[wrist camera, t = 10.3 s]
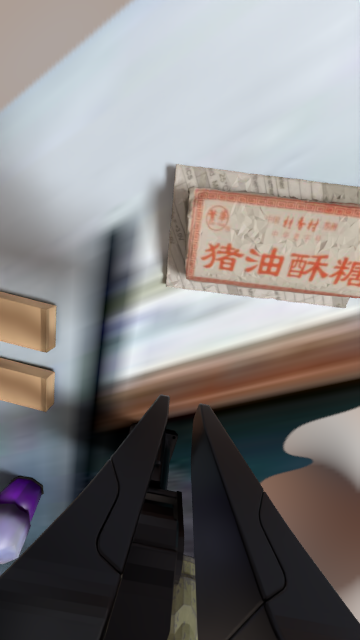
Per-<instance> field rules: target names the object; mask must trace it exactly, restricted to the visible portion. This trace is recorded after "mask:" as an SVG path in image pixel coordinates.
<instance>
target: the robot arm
mask: <svg viewBox="0 0 360 640" xmlns="http://www.w3.org/2000/svg"><path fill="white" fill-rule="evenodd" d="M169 401H170V397H169V396H166V395H160V396H159V397H158V398H157V399H156V401H155V402H154V403H153V404H152V406H151V407H150V408H149V410H148V411H147V412H146V413H145V415H144V416H143V417H142V418H141V420H140V421H139V422H138V424H132V425H131V427H130V432H129V435H128V436H127V438H126V439H125V440H124V441H123V443H122V444H121V445H120V446H119V448H118V449H117V450H116V452H115V453H114V454H113V455H112V457H111V459H109V460H108V462H107V463H106V464H105V465H104V467H103V468H102V469H101V470H100V472H99V473H98V474H97V475H96V476H95V478H94V479H93V480H92V481H91V482H90V484H89V485H88V486H87V487H86V488H85V489H84V490H83V491H82V492H81V494H80V495H79V496H78V497H77V498H76V499H75V500H74V501H73V502H72V503H71V504H70V505H69V506H68V507H67V509H66V510H65V511H64V512H63V513H62V514H61V515H60V516H59V517H58V518H57V519H56V520H55V521H54V522H53V523H52V524H51V525H50V526H49V527H48V528H47V529H46V530H45V531H44V532H43V533H42V534H41V535H40V536H39V537H38V539H37V540H36V541H35V542H34V543H33V544H32V545H31V546H30V547H29V548H28V549H27V550H26V551H25V552H24V553H23V554H22V555H21V556H20V557H19V558H18V559H17V560H16V561H15V562H14V563H13V564H12V565H11V566H10V567H9V568H8V569H7V570H6V571H5V572H4V573H3V574H2V575H1V576H0V640H167V639H168V636H169V633H170V627H171V613H172V603H173V592H174V585H176V586H177V585H178V583H179V581H180V576H181V571H182V564H183V553H184V525H183V508H182V492H179V491H177V492H174V491H169V490H167V483H168V472H169V462H170V459H171V456H172V453H173V450H174V447H175V444H176V441H177V438H178V434H177V433H175V432H171V431H166V430H165V428H166V425H167V421H168V412H169ZM191 481H192V507H193V532H194V558H195V583H196V609H197V635H198V640H360V623H359V622H358V621H357V619H356V618H355V617H354V616H353V614H352V613H351V612H350V610H349V609H348V607H347V606H346V605H345V603H344V602H343V601H342V599H341V598H340V597H339V595H338V594H337V592H336V591H335V590H334V588H333V587H332V586H331V584H330V583H329V582H328V580H327V579H326V578H325V576H324V575H323V574H322V572H321V571H320V570H319V568H318V567H317V565H316V564H315V563H314V562H313V560H312V559H311V557H310V556H309V555H308V553H307V552H306V551H305V549H304V548H303V547H302V545H301V544H300V543H299V541H298V540H297V538H296V537H295V535H294V534H293V533H292V531H291V530H290V528H289V527H288V525H287V524H286V523H285V521H284V520H283V518H282V517H281V515H280V514H279V512H278V511H277V509H276V508H275V506H274V505H273V503H272V502H271V500H270V499H269V497H268V495H267V494H266V492H263V488H262V486H261V485H260V483H259V482H258V480H257V479H256V477H255V475H254V474H253V472H252V471H251V469H250V468H249V466H248V465H247V463H246V462H245V460H244V458H243V457H242V455H241V454H240V452H239V451H238V449H237V448H236V446H235V445H234V443H233V441H232V440H231V438H230V437H229V435H228V434H227V432H226V431H225V429H224V428H223V426H222V425H221V423H220V421H219V420H218V418H217V417H216V415H215V414H214V412H213V411H212V409H211V408H210V406H209V405H205V404H199V406H198V408H197V411H196V414H195V417H194V421H193V435H192V451H191Z"/></svg>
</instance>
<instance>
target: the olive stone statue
mask: <svg viewBox="0 0 360 640" xmlns="http://www.w3.org/2000/svg"><path fill="white" fill-rule="evenodd" d="M167 640H198V635H197V609H196V583H195V559H194V558H192V557H189V556H185V555H183V564H182V571H181V576H180V581H179V583H178V585H177V586H176V585H174V592H173V603H172V613H171V627H170V633H169V636H168V639H167Z"/></svg>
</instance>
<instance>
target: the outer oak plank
mask: <svg viewBox="0 0 360 640" xmlns="http://www.w3.org/2000/svg"><path fill="white" fill-rule="evenodd" d="M55 340H56V306H54V305H50V304H47V303H43V302H39V301H35V300H31V299H27V298H23V297H20V296H16V295H12V294H8V293H4V292H0V341H3V342H7V343H11V344H15V345H18V346H22V347H26V348H30V349H34V350H38V351H42V352H46V353H47V352H48V351H50V350H51V349H53V348H54V347H55Z"/></svg>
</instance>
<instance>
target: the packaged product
mask: <svg viewBox="0 0 360 640" xmlns="http://www.w3.org/2000/svg"><path fill="white" fill-rule="evenodd" d="M166 287H175V288H182V289H189V290H198V291H207V292H215V293H222V294H231V295H239V296H249V297H255V298H263V299H269V298H273V299H276V300H282V301H289V302H299V303H308V304H315V305H323V306H331V307H340V308H346V304H347V302H348V300H349V298H350V297H351V298H360V187H354V186H345V185H338V184H328V183H320V182H313V181H306V180H301V179H290V178H283V177H273V176H264V175H258V174H247V173H241V172H235V171H227V170H218V169H212V168H203V167H192V166H185V165H180V164H177V165H176V171H175V181H174V191H173V205H172V218H171V227H170V237H169V249H168V262H167V282H166Z"/></svg>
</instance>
